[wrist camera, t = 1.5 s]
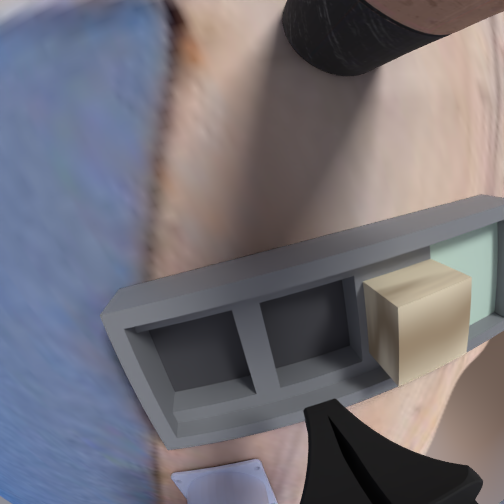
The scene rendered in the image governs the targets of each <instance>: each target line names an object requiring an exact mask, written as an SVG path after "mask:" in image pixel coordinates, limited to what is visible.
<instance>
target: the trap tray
mask: <svg viewBox="0 0 504 504" xmlns="http://www.w3.org/2000/svg"><path fill="white" fill-rule="evenodd" d="M428 259H432V260H435V261H437V262H439V263H441V264H444V265H446V266H448V267H451V268H453V269H455V270H457V271H459V272H462V273H464V274H466V275H468V276H470V277H472V288H471V309H470V323H469V334H468V343H467V352H468V351H470V350H472V349H473V348H475V347H477V346H479V345H480V344H482V343H484V342H485V341H487V340H489V339H490V338H492V337H494V336H495V335H497V334H499V333H500V332H502V331H503V330H504V198H502V197H495V196H489V195H482V194H481V195H478V196H474V197H470V198H466V199H463V200H459V201H455V202H451V203H447V204H444V205H440V206H436V207H432V208H428V209H425V210H421V211H417V212H413V213H409V214H406V215H402V216H398V217H394V218H390V219H387V220H383V221H379V222H375V223H371V224H368V225H364V226H360V227H356V228H352V229H349V230H345V231H341V232H337V233H333V234H329V235H326V236H322V237H318V238H314V239H310V240H306V241H303V242H299V243H295V244H291V245H287V246H283V247H280V248H276V249H272V250H268V251H264V252H260V253H257V254H253V255H249V256H245V257H241V258H237V259H233V260H230V261H226V262H222V263H218V264H214V265H210V266H206V267H203V268H199V269H195V270H191V271H187V272H183V273H179V274H176V275H172V276H168V277H164V278H160V279H156V280H152V281H148V282H145V283H141V284H137V285H133V286H129V287H125V288H121V289H119V290H118V291H117V293H116V294H115V295H114V297H113V298H112V299H111V301H110V302H109V303H108V305H107V306H106V307H105V309H104V310H103V312H102V313H101V314H100V317H101V320H102V322H103V325H104V327H105V329H106V332H107V334H108V336H109V339H110V341H111V343H112V345H113V348H114V350H115V352H116V354H117V356H118V359H119V361H120V363H121V365H122V367H123V369H124V371H125V373H126V375H127V377H128V379H129V381H130V383H131V385H132V387H133V389H134V391H135V393H136V395H137V397H138V399H139V401H140V403H141V405H142V406H143V408H144V410H145V412H146V414H147V415H148V417H149V419H150V421H151V423H152V424H153V426H154V428H155V430H156V431H157V433H158V435H159V436H160V438H161V440H162V441H163V443H164V445H165V446H166V448H167V450H173V449H180V448H187V447H193V446H199V445H205V444H211V443H216V442H221V441H226V440H231V439H236V438H241V437H245V436H249V435H254V434H258V433H262V432H266V431H270V430H274V429H278V428H281V427H285V426H288V425H292V424H295V423H299V422H302V421H305V417H304V412H303V410H304V409H305V408H306V407H309V406H313V405H316V404H319V403H322V402H325V401H328V400H331V399H334V398H335V399H337V400H338V401H339V402H340V403H341V404H342V405H343V406H344V407H348V406H350V405H353V404H356V403H358V402H361V401H364V400H366V399H369V398H371V397H374V396H376V395H379V394H381V393H384V392H386V391H388V390H391V389H393V388H395V387H398V386H397V384H396V383H395V382H394V381H393V380H392V379H391V377H390V376H389V375H388V374H387V373H386V372H385V370H384V369H383V368H382V367H381V366H380V365H379V363H378V362H377V361H376V360H375V359H374V358H373V356H372V355H371V354H370V353H369V342H368V329H367V317H366V307H365V297H364V288H363V281H366V280H369V279H372V278H375V277H378V276H381V275H384V274H387V273H390V272H393V271H396V270H399V269H402V268H405V267H408V266H411V265H414V264H417V263H420V262H423V261H426V260H428Z"/></svg>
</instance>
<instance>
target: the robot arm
mask: <svg viewBox="0 0 504 504" xmlns="http://www.w3.org/2000/svg"><path fill="white" fill-rule="evenodd" d="M303 412H304V417H305V422H306V427H307V431H308V445H309V448H308V464H307V472H306V479H305V484H304V489H303V494H302V498H301V501H300V504H478V503H477V502H476V501H475V499H476V497H477V495H478V493H479V492H480V490H481V488H482V485H483V480H482V479H481V478H480V476H479V475H478V474H477V473H476V472H475V471H474V470H473V469H471V468H470V467H469V466H467V465H460V464H454V463H449V462H445V461H441V460H437V459H433V458H430V457H427V456H424V455H421V454H419V453H416V452H413V451H411V450H409V449H406V448H404V447H402V446H400V445H398V444H396V443H394V442H392V441H390V440H389V439H387V438H385V437H384V436H382V435H380V434H379V433H377V432H376V431H374V430H373V429H371V428H370V427H368V426H367V425H366V424H364V423H363V422H362V421H360V420H359V419H358V418H357V417H355V416H354V415H353V414H352V413H351V412H350V411H348V410H347V409H346V408H345V407H344V406H343V405H342V404H341V403H340V402H339V401H338V400H337V399H335V398H334V399H331V400H328V401H325V402H322V403H319V404H316V405H313V406H309V407H306V408H305V409H304V410H303ZM171 478H172V480H173V481H174V483H175V484H176V485H177V487H178V488H179V489H180V491H181V492H182V493H183V495H184V496H185V497H186V499H187V504H278V502H277V500H276V498H275V495H274V493H273V490H272V488H271V485H270V483H269V480H268V478H267V476H266V473H265V471H264V468H263V466H262V463H261V461H260V460H259V459H253V460H248V461H243V462H238V463H233V464H228V465H223V466H217V467H211V468H205V469H198V470H191V471H184V472H175V473H172V475H171ZM499 504H504V500H503V501H501V502H500V503H499Z"/></svg>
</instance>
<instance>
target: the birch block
mask: <svg viewBox="0 0 504 504" xmlns="http://www.w3.org/2000/svg"><path fill="white" fill-rule="evenodd" d="M363 288H364V297H365V307H366V317H367V329H368V342H369V353H370V354H371V355H372V356H373V358H374V359H375V360H376V361H377V362H378V363H379V365H380V366H381V367H382V368H383V369H384V370H385V372H386V373H387V374H388V375H389V376H390V377H391V379H392V380H393V381H394V382H395V383H396V384H397V386H398V387H400V386H402V385H404V384H406V383H409V382H411V381H413V380H415V379H417V378H419V377H422V376H424V375H426V374H428V373H430V372H432V371H434V370H436V369H438V368H440V367H442V366H444V365H446V364H448V363H449V362H451V361H453V360H455V359H457V358H459V357H461V356H462V355H464V354H466V352H467V343H468V334H469V323H470V309H471V288H472V277H470V276H468V275H466V274H464V273H462V272H459V271H457V270H455V269H453V268H451V267H448V266H446V265H444V264H441V263H439V262H437V261H435V260H432V259H428V260H426V261H423V262H420V263H417V264H414V265H411V266H408V267H405V268H402V269H399V270H396V271H393V272H390V273H387V274H384V275H381V276H378V277H375V278H372V279H369V280H366V281H363Z"/></svg>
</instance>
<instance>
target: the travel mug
mask: <svg viewBox="0 0 504 504" xmlns="http://www.w3.org/2000/svg"><path fill="white" fill-rule="evenodd" d="M503 11H504V0H287V2H286V5H285V9H284V12H283V26H284V30H285V33H286V36H287V38H288V40H289V42H290V44H291V45H292V47H293V48H294V49H295V50H296V52H297V53H298V54H299V55H300V56H301V57H302V58H303V59H305V60H306V61H307V62H309V63H310V64H311V65H313V66H315V67H317V68H318V69H321V70H323V71H325V72H328V73H331V74H335V75H342V76H354V75H360V74H363V73H366V72H368V71H371V70H373V69H375V68H377V67H379V66H381V65H383V64H385V63H387V62H390V61H392V60H394V59H396V58H398V57H400V56H402V55H404V54H407V53H409V52H411V51H413V50H415V49H418V48H420V47H422V46H424V45H427V44H429V43H431V42H434V41H436V40H438V39H441V38H443V37H445V36H448V35H450V34H452V33H455V32H457V31H460V30H462V29H464V28H466V27H468V26H470V25H473V24H475V23H477V22H479V21H482V20H484V19H486V18H488V17H491V16H493V15H496V14H498V13H500V12H503Z"/></svg>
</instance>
